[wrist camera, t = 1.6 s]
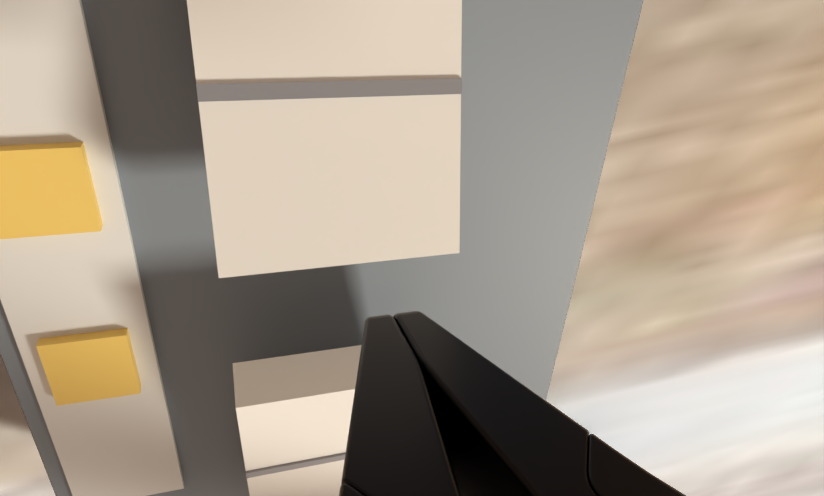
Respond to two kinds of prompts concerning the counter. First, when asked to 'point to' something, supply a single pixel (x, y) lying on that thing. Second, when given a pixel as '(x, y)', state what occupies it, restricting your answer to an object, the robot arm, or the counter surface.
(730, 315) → the counter surface
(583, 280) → the counter surface
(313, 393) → the block
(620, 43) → the console
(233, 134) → the panel
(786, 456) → the counter surface
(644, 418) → the counter surface
